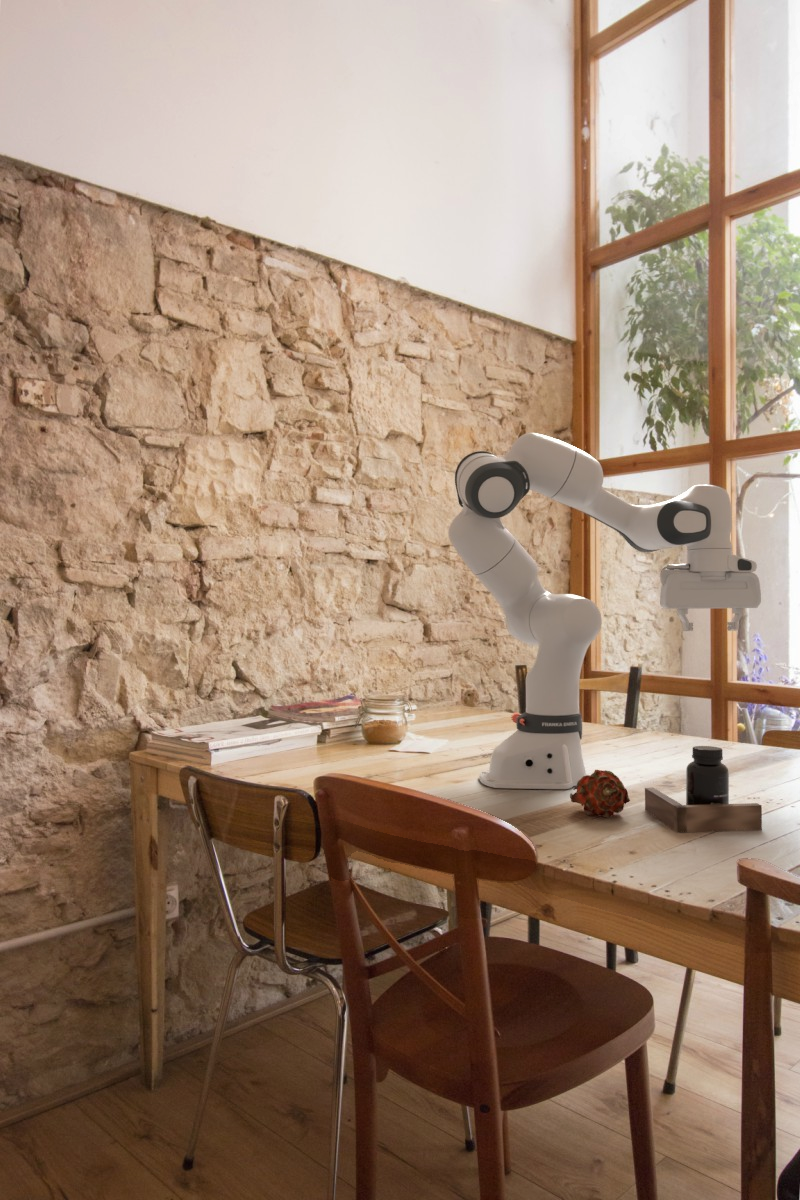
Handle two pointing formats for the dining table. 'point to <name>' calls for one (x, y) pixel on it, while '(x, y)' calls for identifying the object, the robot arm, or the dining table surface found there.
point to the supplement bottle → (707, 777)
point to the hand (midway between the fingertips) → (710, 630)
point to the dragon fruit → (601, 794)
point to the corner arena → (703, 814)
